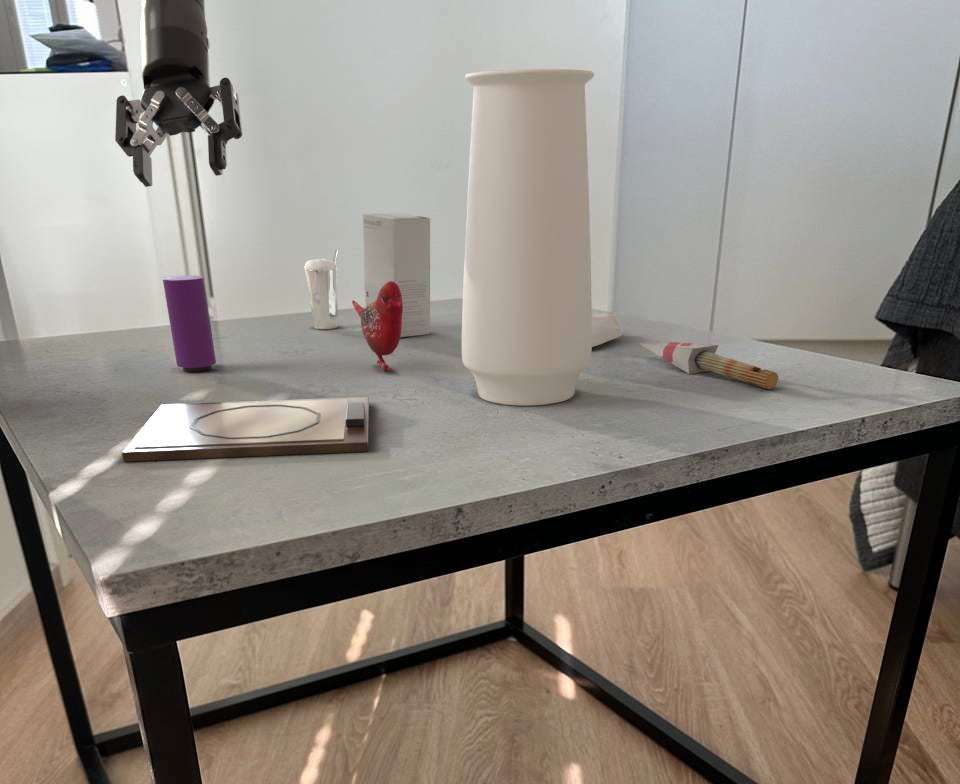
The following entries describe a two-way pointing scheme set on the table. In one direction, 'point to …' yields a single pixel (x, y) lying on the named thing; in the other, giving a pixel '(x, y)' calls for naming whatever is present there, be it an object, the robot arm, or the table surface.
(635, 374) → the table surface
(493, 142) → the vase
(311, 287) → the milkshake
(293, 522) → the table surface
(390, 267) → the cosmetic box
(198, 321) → the dot marker
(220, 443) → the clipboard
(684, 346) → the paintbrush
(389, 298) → the decorative bird figurine
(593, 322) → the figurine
